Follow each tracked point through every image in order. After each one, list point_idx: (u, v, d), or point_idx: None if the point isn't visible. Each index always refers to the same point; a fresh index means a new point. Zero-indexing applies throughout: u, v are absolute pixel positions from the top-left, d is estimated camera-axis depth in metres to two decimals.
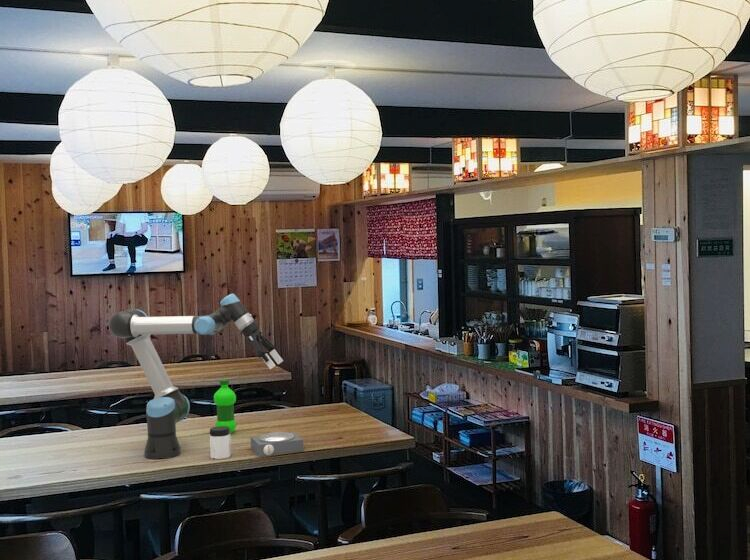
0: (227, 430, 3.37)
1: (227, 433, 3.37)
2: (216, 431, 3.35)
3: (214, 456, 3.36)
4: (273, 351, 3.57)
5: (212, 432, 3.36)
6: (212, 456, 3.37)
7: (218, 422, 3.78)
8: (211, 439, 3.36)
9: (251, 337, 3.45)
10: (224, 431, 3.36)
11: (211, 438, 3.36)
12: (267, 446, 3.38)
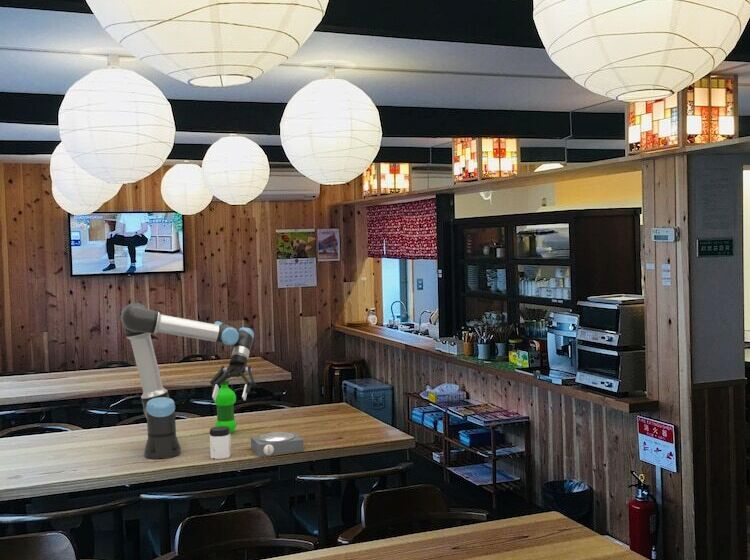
0: (227, 430, 3.37)
1: (227, 433, 3.37)
2: (216, 431, 3.35)
3: (214, 456, 3.36)
4: (218, 388, 3.54)
5: (212, 432, 3.36)
6: (212, 456, 3.37)
7: (218, 422, 3.78)
8: (211, 439, 3.36)
9: (251, 369, 3.58)
10: (224, 431, 3.36)
11: (211, 438, 3.36)
12: (267, 446, 3.38)
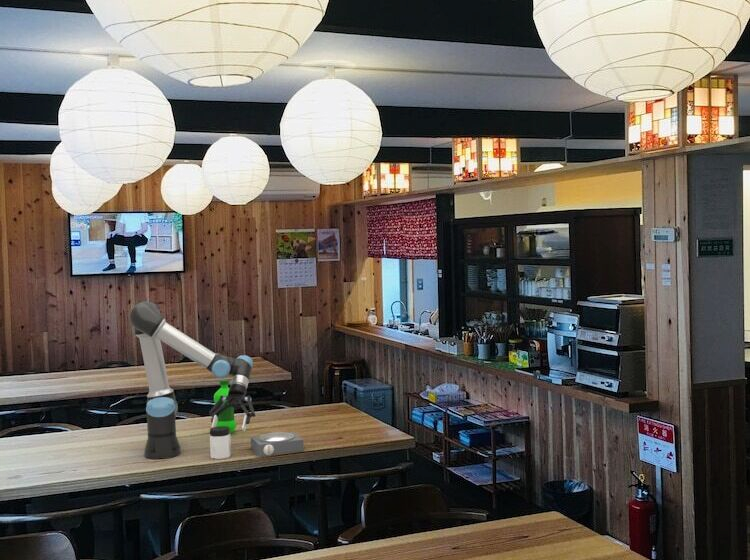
0: (227, 430, 3.37)
1: (227, 433, 3.37)
2: (216, 431, 3.35)
3: (214, 456, 3.36)
4: (217, 418, 3.49)
5: (212, 432, 3.36)
6: (212, 456, 3.37)
7: (218, 422, 3.78)
8: (211, 439, 3.36)
9: (251, 399, 3.53)
10: (224, 431, 3.36)
11: (211, 438, 3.36)
12: (267, 446, 3.38)
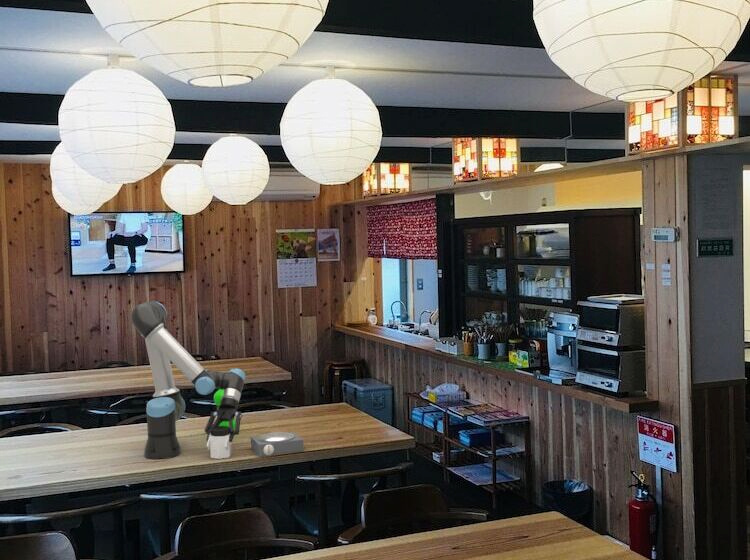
0: (227, 430, 3.37)
1: (227, 433, 3.37)
2: (216, 431, 3.35)
3: (214, 456, 3.36)
4: None
5: (212, 432, 3.36)
6: (212, 456, 3.37)
7: None
8: (211, 439, 3.36)
9: (241, 415, 3.46)
10: (224, 431, 3.36)
11: (211, 438, 3.36)
12: (267, 446, 3.38)
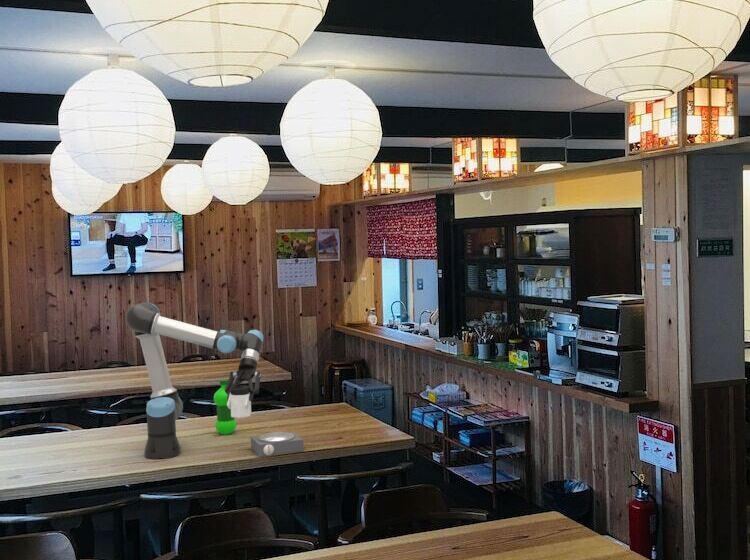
0: (247, 389, 3.39)
1: (247, 392, 3.39)
2: (236, 390, 3.37)
3: (235, 415, 3.38)
4: None
5: (232, 391, 3.37)
6: (233, 415, 3.38)
7: (218, 422, 3.78)
8: (231, 398, 3.38)
9: (260, 375, 3.47)
10: (244, 390, 3.37)
11: (231, 397, 3.38)
12: (267, 446, 3.38)
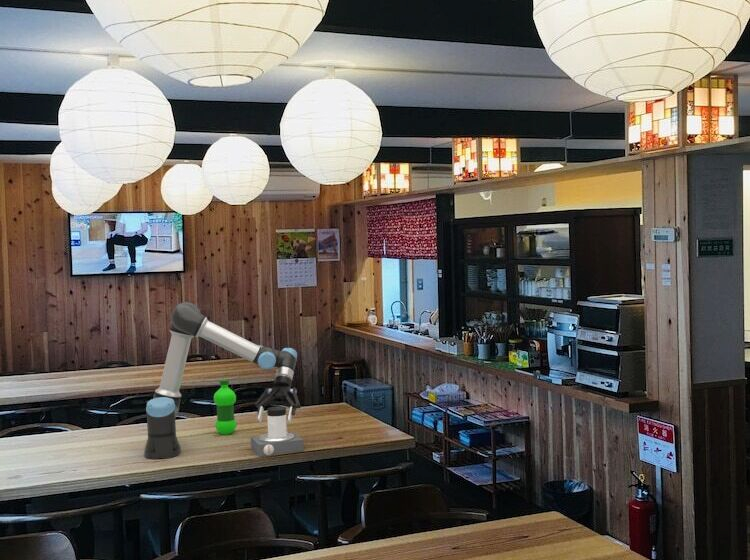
0: (284, 410, 3.46)
1: (284, 413, 3.46)
2: (274, 411, 3.43)
3: (272, 435, 3.44)
4: (263, 409, 3.51)
5: (270, 412, 3.44)
6: (270, 435, 3.45)
7: (218, 422, 3.78)
8: (269, 419, 3.45)
9: (296, 390, 3.54)
10: (281, 411, 3.44)
11: (269, 418, 3.45)
12: (267, 446, 3.38)
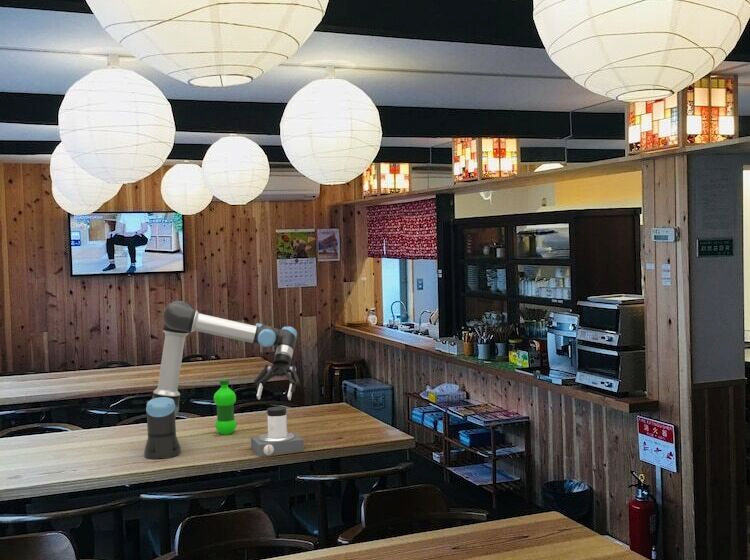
0: (284, 410, 3.46)
1: (284, 413, 3.46)
2: (274, 411, 3.43)
3: (272, 435, 3.44)
4: (262, 387, 3.50)
5: (270, 412, 3.44)
6: (270, 435, 3.45)
7: (218, 422, 3.78)
8: (269, 419, 3.45)
9: (295, 368, 3.54)
10: (282, 411, 3.44)
11: (269, 418, 3.45)
12: (267, 446, 3.38)
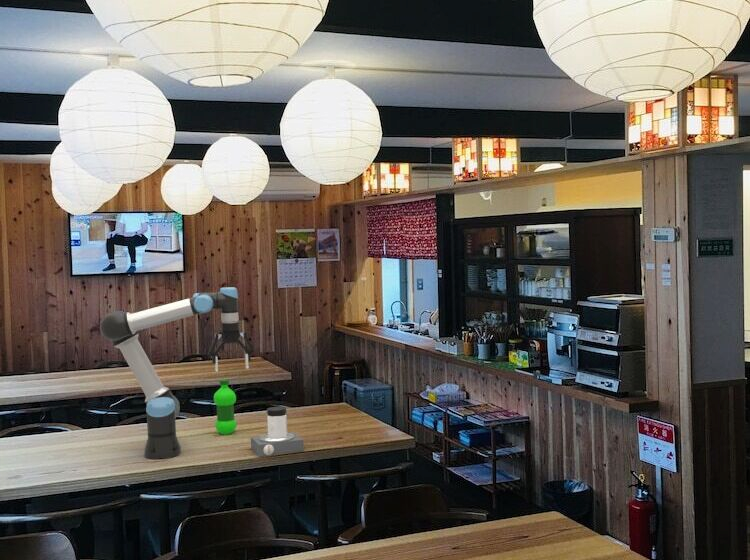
0: (284, 410, 3.46)
1: (284, 413, 3.46)
2: (274, 411, 3.43)
3: (272, 435, 3.44)
4: (216, 357, 3.59)
5: (270, 412, 3.44)
6: (270, 435, 3.45)
7: (218, 422, 3.78)
8: (269, 419, 3.45)
9: (245, 333, 3.63)
10: (282, 411, 3.44)
11: (269, 418, 3.45)
12: (267, 446, 3.38)
